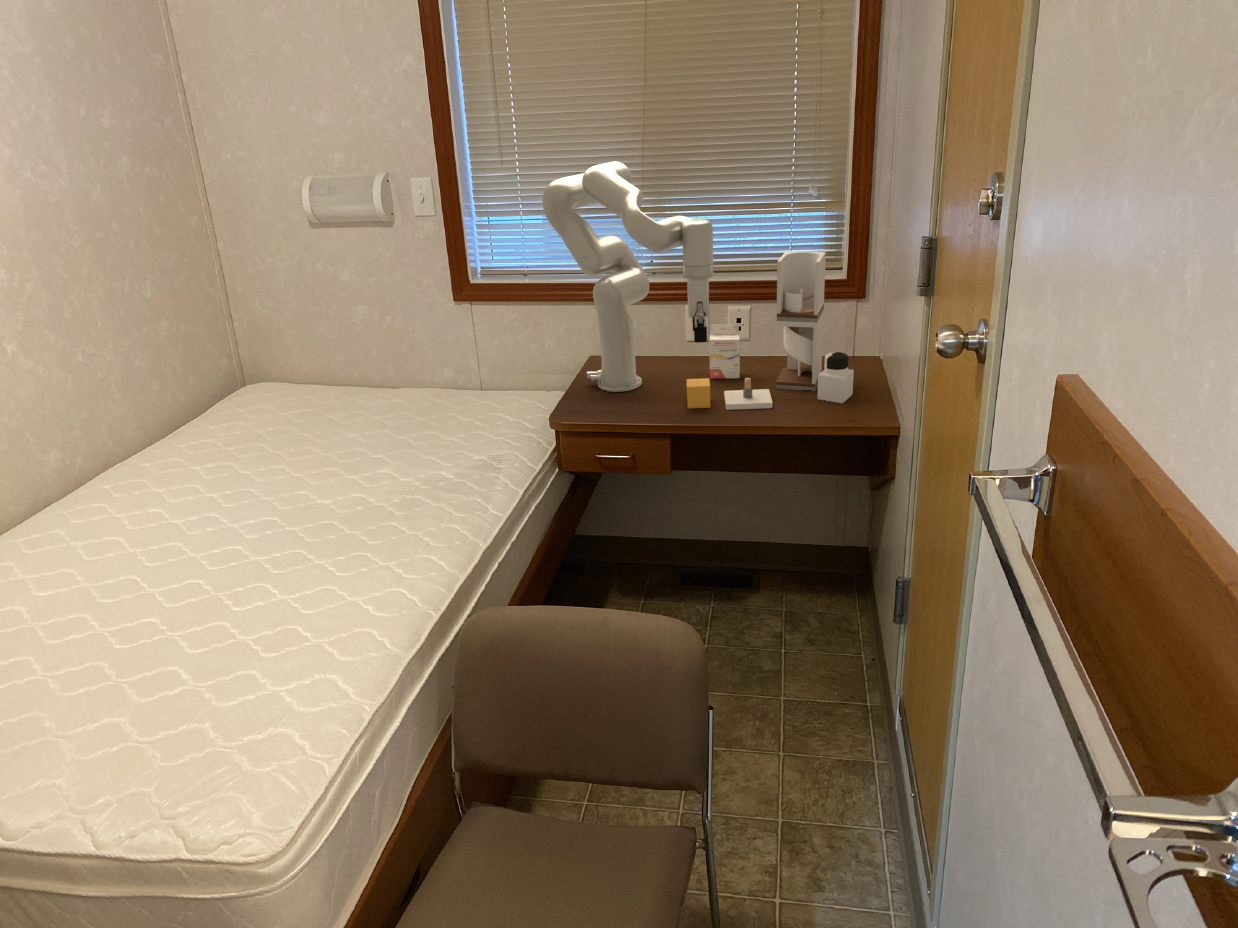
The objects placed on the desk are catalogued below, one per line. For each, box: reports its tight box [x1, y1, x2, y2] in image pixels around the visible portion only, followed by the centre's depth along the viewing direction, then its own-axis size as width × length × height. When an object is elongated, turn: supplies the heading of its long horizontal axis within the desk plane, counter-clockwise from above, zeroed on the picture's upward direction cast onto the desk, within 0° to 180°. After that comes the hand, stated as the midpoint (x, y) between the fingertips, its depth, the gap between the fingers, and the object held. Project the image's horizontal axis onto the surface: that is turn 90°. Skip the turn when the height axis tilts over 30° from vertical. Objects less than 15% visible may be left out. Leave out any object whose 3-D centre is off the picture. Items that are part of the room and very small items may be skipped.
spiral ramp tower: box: [775, 251, 827, 392], centre depth 245 cm, size 11×11×35 cm
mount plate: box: [723, 377, 773, 411], centre depth 241 cm, size 12×10×6 cm
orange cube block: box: [686, 377, 711, 409], centre depth 242 cm, size 6×6×6 cm
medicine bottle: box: [816, 351, 855, 404], centre depth 239 cm, size 7×7×12 cm
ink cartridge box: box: [709, 323, 741, 380], centre depth 258 cm, size 9×5×15 cm, turn 84°
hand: (699, 336), depth 235 cm, fingers open, 9 cm apart
